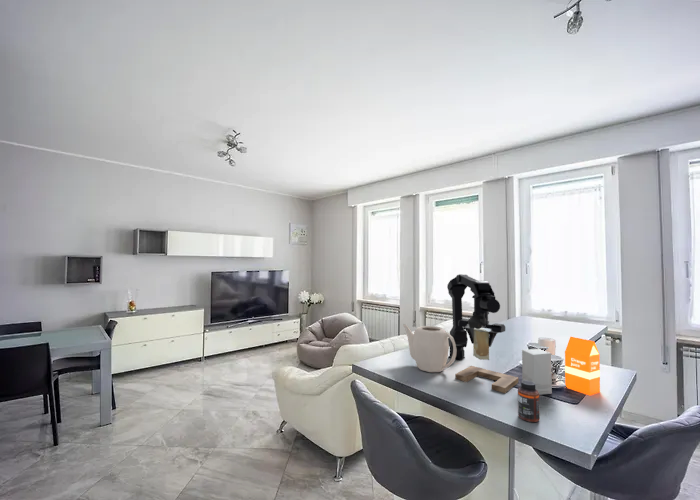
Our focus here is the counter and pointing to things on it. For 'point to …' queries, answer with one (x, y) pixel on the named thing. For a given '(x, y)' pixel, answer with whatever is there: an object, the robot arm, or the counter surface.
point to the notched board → (501, 384)
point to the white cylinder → (548, 344)
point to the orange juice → (582, 366)
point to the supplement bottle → (528, 402)
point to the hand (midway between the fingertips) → (481, 345)
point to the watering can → (430, 347)
